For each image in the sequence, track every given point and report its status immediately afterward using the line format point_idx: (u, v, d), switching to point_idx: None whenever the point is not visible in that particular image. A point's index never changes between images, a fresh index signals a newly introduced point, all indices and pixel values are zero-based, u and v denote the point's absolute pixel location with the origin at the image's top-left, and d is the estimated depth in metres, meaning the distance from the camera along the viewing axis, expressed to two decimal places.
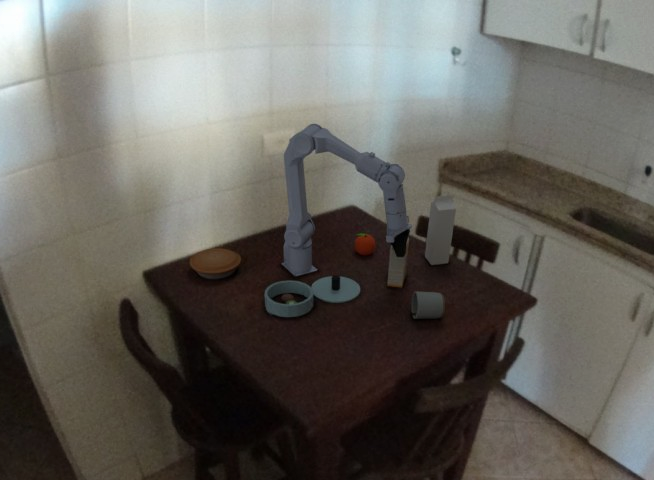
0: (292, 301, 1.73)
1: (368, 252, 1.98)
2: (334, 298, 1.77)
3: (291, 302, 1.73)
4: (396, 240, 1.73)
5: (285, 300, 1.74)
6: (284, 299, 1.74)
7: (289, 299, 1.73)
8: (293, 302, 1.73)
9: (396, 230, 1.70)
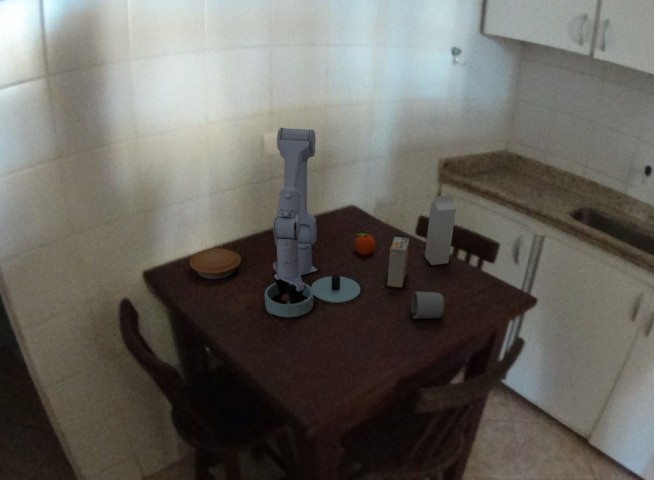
0: None
1: (368, 252, 1.98)
2: (334, 298, 1.77)
3: None
4: None
5: (285, 300, 1.74)
6: (284, 299, 1.74)
7: None
8: None
9: None
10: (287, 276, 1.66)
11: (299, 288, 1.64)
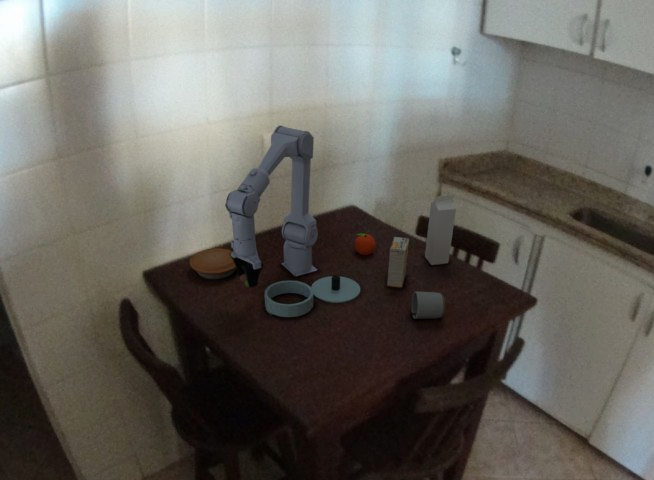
0: None
1: (368, 252, 1.98)
2: (334, 298, 1.77)
3: None
4: None
5: (244, 280, 1.68)
6: (242, 279, 1.68)
7: None
8: None
9: None
10: (244, 254, 1.61)
11: (255, 266, 1.59)
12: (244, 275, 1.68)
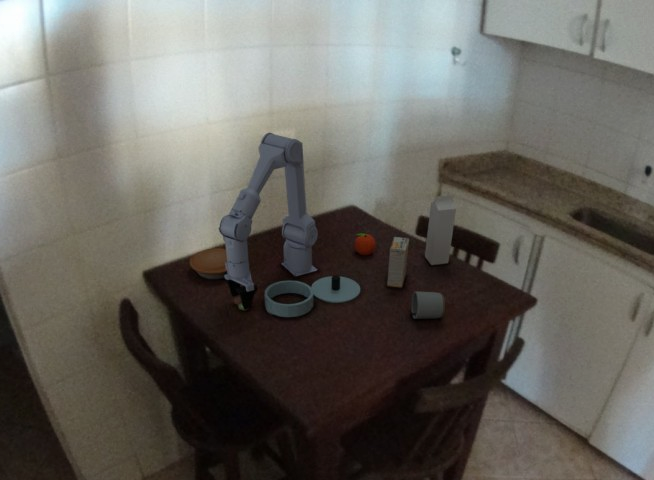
0: None
1: (368, 252, 1.98)
2: (334, 298, 1.77)
3: None
4: None
5: (237, 303, 1.72)
6: (236, 302, 1.72)
7: (241, 302, 1.72)
8: None
9: None
10: (237, 276, 1.64)
11: (248, 288, 1.62)
12: (238, 298, 1.72)
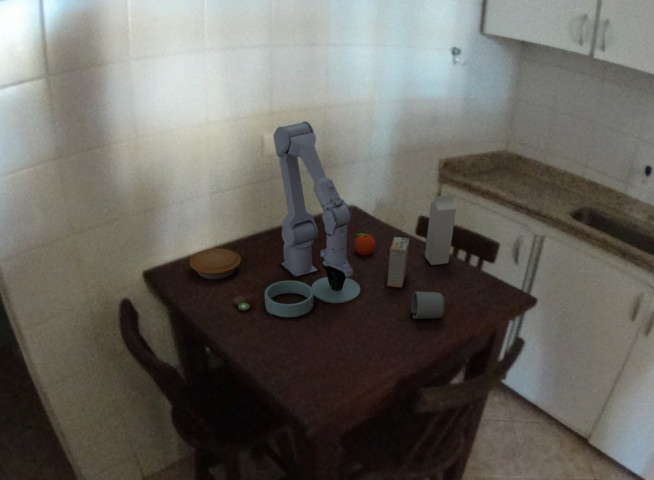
0: (244, 304, 1.72)
1: (368, 252, 1.98)
2: (334, 298, 1.77)
3: (243, 305, 1.72)
4: None
5: (237, 303, 1.72)
6: (236, 302, 1.72)
7: (241, 302, 1.72)
8: (245, 305, 1.72)
9: None
10: (336, 263, 1.73)
11: (348, 274, 1.71)
12: (238, 298, 1.72)
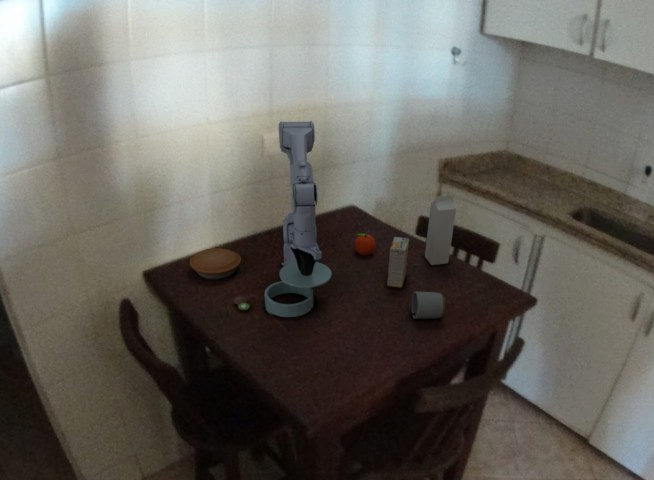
0: (244, 304, 1.72)
1: (368, 252, 1.98)
2: (303, 283, 1.67)
3: (243, 305, 1.72)
4: None
5: (237, 303, 1.72)
6: (236, 302, 1.72)
7: (241, 302, 1.72)
8: (245, 305, 1.72)
9: None
10: (304, 245, 1.64)
11: (316, 257, 1.62)
12: (238, 298, 1.72)
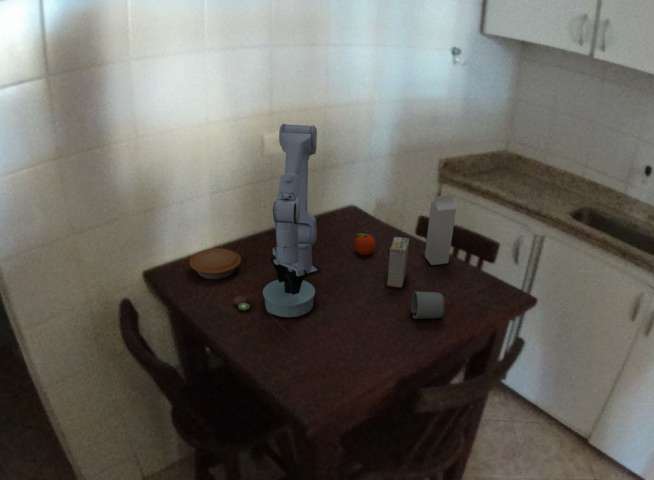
0: (244, 304, 1.72)
1: (368, 252, 1.98)
2: (286, 301, 1.67)
3: (243, 305, 1.72)
4: None
5: (237, 303, 1.72)
6: (236, 302, 1.72)
7: (241, 302, 1.72)
8: (245, 305, 1.72)
9: None
10: (287, 261, 1.63)
11: (299, 273, 1.61)
12: (238, 298, 1.72)
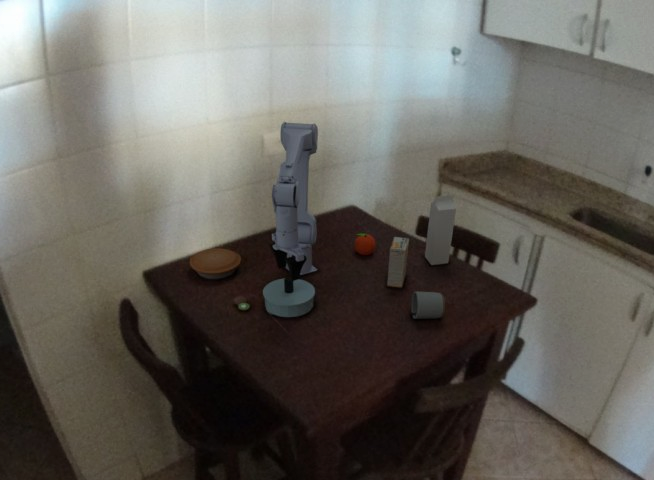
0: (244, 304, 1.72)
1: (368, 252, 1.98)
2: (286, 301, 1.67)
3: (243, 305, 1.72)
4: None
5: (237, 303, 1.72)
6: (236, 302, 1.72)
7: (241, 302, 1.72)
8: (245, 305, 1.72)
9: None
10: (286, 246, 1.61)
11: (298, 258, 1.59)
12: (238, 298, 1.72)
